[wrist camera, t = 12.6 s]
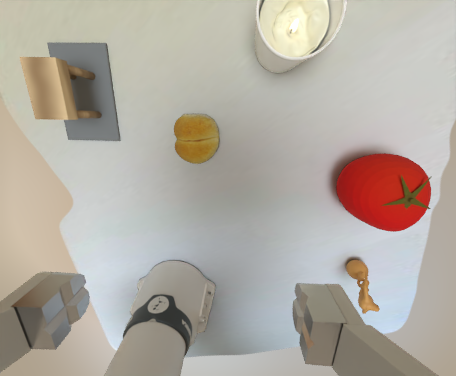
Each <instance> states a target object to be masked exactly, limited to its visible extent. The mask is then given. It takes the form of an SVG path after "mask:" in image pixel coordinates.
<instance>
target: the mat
mask: <svg viewBox="0 0 456 376" xmlns="http://www.w3.org/2000/svg"><path fill="white" fill-rule="evenodd" d="M47 44H48V48H49V53H50V57H55V58H58V59H61V60H64V61H67V64H68V65H71V66H74V67H77V68H80V69H83V70H86V71H90V72H93V73H94V74H95V79H94V80H91V79H87V78H83V77H80V76H76V79H74V80H73V79H70V81H71V86H72V91H73V96H74V101H75V106H76V110H81V111H99V112H100V113H101V115H102V116H101V118H78V120H64V122H65V127H66V131H67V136H68V140H105V141H120V134H119V127H118V120H117V113H116V106H115V99H114V92H113V85H112V78H111V71H110V63H109V56H108V49H107V44H106V43H47Z"/></svg>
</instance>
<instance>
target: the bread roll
mask: <svg viewBox="0 0 456 376" xmlns="http://www.w3.org/2000/svg"><path fill="white" fill-rule="evenodd" d="M174 133H175V136H176V138H177V141H176V143H175V150H176V152H177V154H178V155H179V156H180V157H181V158H182V159H184V160H185V161H188V162H190V163H195V164H199V163H203V162H205V161H207V160H209V159H210V158H211V157H212V156H213V155H214V154H215V152H216V150H217V148H218V145H219V131H218V128H217V125H216V123H215V121H214V120H213V119H212V118H210V117H209V116H207V115H204V114H183V115H182V116H181V117H180V118H179V119H178V120H177V121H176V123H175V126H174Z"/></svg>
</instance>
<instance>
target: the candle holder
mask: <svg viewBox="0 0 456 376" xmlns="http://www.w3.org/2000/svg"><path fill="white" fill-rule="evenodd" d="M346 5H347V0H257V4H256V28H255V53H256V56H257V59H258V61H259V62H260V64H261V65H262V66H263V67H264V68H265V69H266V70H268V71H270V72H274V73H283V72H286V71H289V70H291V69H293V68H294V67H296V66H298V65H299V64H301V63H302V62H304V61H306V60H307V59H309V58H310V57H313V56H315V55H317V54H318V53H320V52H321V51H322V50H324V49H325V48H326V47H327V46H328V45H329V44H330V43H331V42H332V40H333V39H334V38H335V36H336V35H337V33H338V31H339V29H340V27H341V25H342V22H343V19H344V16H345V12H346Z"/></svg>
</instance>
